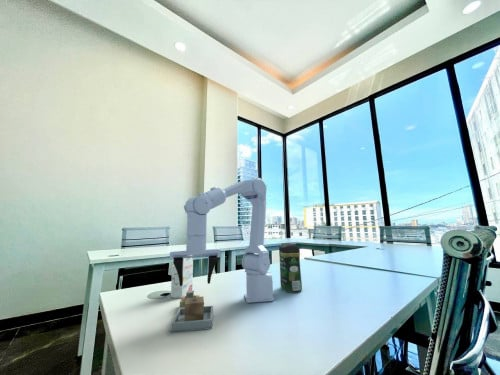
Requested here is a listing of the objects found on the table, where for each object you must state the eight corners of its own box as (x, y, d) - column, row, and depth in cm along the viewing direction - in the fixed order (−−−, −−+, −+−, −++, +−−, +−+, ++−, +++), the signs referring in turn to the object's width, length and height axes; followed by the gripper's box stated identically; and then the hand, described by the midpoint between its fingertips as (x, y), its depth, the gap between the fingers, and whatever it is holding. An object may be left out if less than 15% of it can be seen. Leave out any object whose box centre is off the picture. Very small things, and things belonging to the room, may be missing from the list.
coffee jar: (278, 286, 90) (276, 242, 93) (295, 285, 91) (293, 241, 94) (285, 293, 80) (283, 244, 84) (304, 292, 82) (302, 243, 85)
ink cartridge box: (181, 290, 86) (183, 254, 89) (192, 291, 85) (193, 254, 88) (169, 297, 78) (171, 257, 81) (181, 298, 77) (183, 257, 80)
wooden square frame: (199, 304, 71) (199, 294, 72) (197, 310, 66) (198, 300, 66) (182, 305, 70) (182, 295, 71) (179, 312, 65) (179, 301, 65)
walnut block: (203, 314, 61) (203, 296, 62) (203, 322, 57) (203, 301, 58) (185, 316, 60) (186, 297, 61) (184, 324, 55) (185, 303, 56)
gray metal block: (193, 306, 69) (193, 290, 70) (192, 309, 67) (193, 292, 68) (186, 307, 69) (187, 291, 69) (185, 309, 66) (186, 293, 67)
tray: (213, 312, 64) (213, 305, 64) (212, 328, 54) (212, 320, 54) (178, 315, 62) (178, 308, 63) (171, 332, 52) (171, 323, 53)
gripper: (219, 234, 68) (219, 278, 66) (172, 235, 65) (170, 282, 62) (221, 235, 61) (221, 284, 59) (169, 236, 58) (167, 289, 55)
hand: (195, 283), depth 60 cm, fingers open, 7 cm apart
